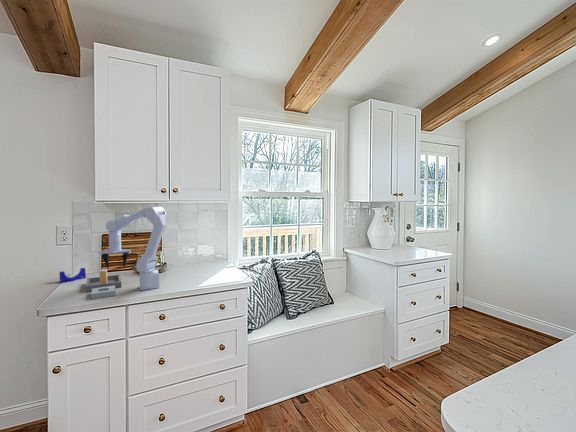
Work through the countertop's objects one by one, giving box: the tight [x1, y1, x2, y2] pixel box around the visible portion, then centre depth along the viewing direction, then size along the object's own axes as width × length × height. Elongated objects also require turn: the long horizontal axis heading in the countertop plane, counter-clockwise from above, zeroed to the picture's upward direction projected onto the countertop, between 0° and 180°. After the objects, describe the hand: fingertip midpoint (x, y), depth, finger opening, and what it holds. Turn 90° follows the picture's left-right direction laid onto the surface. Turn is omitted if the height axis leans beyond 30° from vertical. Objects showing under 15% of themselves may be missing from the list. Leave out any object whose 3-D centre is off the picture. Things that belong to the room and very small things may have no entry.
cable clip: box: [59, 267, 87, 284], centre depth 176 cm, size 12×4×6 cm, turn 143°
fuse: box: [98, 268, 108, 284], centre depth 164 cm, size 3×3×8 cm
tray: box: [84, 273, 122, 293], centre depth 165 cm, size 16×18×3 cm
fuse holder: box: [90, 286, 117, 300], centre depth 149 cm, size 10×10×2 cm
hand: (116, 267), depth 163 cm, fingers open, 7 cm apart
